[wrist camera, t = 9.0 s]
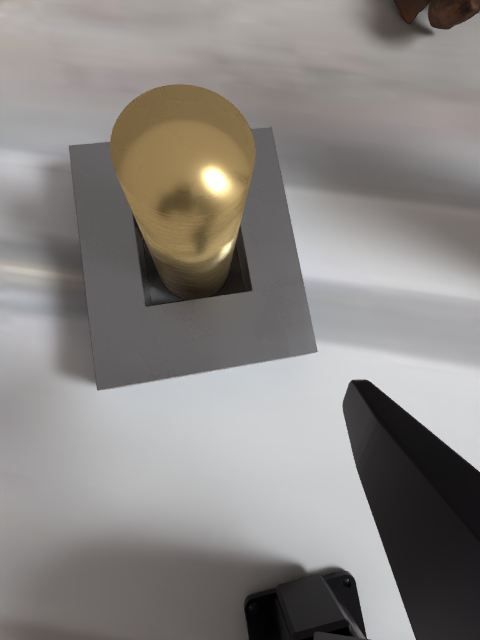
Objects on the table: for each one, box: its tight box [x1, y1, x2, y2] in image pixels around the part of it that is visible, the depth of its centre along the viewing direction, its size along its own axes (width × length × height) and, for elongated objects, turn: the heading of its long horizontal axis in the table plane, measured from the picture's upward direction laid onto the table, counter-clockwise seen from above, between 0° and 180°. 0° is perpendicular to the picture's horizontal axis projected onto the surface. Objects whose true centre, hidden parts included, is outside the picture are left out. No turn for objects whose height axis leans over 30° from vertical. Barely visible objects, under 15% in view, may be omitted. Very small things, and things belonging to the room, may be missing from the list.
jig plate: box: [69, 127, 318, 390], centre depth 22 cm, size 14×12×3 cm
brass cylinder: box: [110, 85, 255, 300], centre depth 17 cm, size 5×5×12 cm
